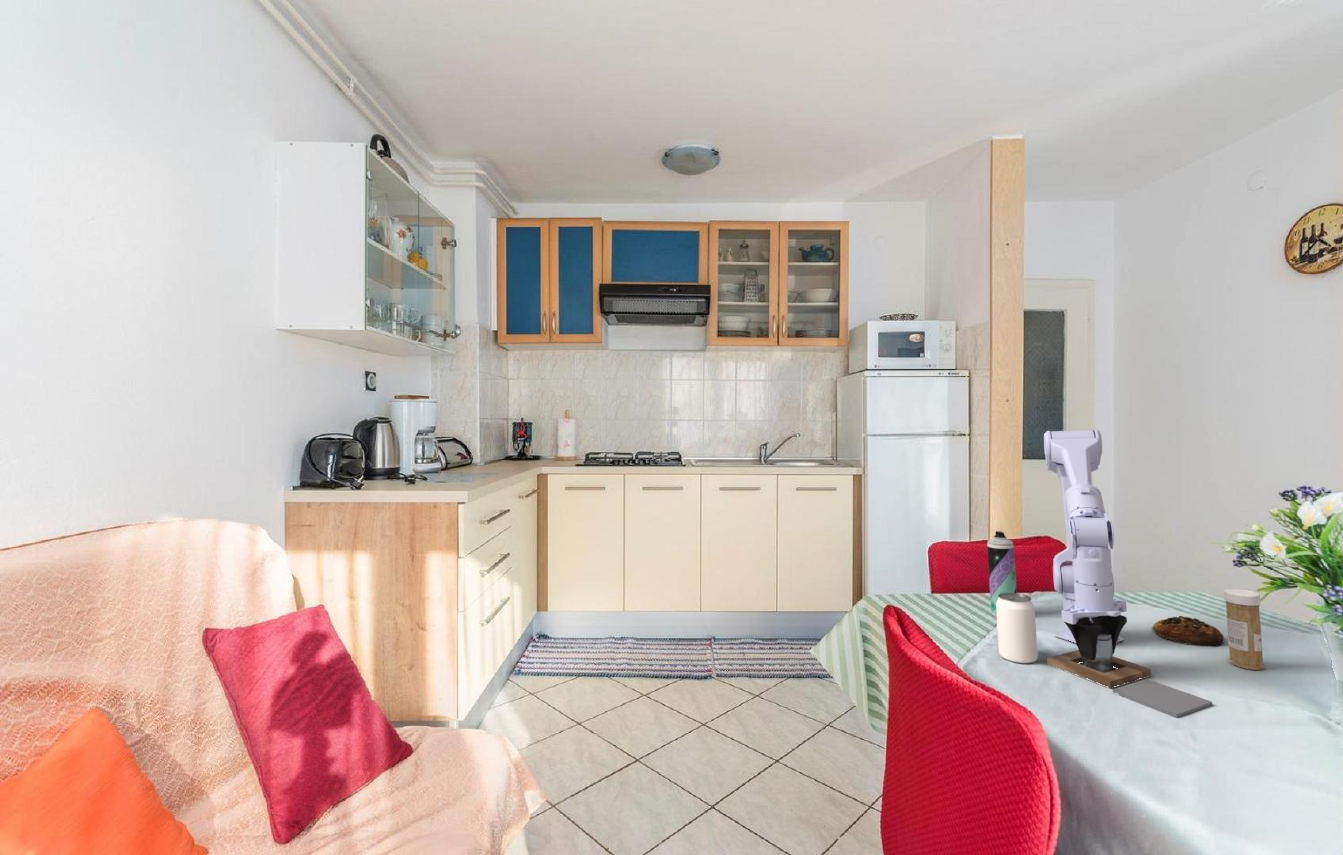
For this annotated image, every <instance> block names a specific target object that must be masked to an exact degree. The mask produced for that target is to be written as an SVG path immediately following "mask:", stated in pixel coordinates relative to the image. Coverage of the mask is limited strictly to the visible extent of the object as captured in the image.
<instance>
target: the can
mask: <svg viewBox="0 0 1343 855" xmlns="http://www.w3.org/2000/svg"><path fill="white" fill-rule="evenodd" d="M998 597H999V598H998V600H997V602H996V612H997V617H996V626H997V627H996V629H997V644H998V654H999V655H1000V658H1002V659H1004V660H1006V661H1008V662H1010V663H1016V664H1022V665H1025V664H1026V665H1027V664H1028V665H1029V664H1033V663H1035V662H1036V661H1037V660H1038V644H1037V643H1038V642H1037V641H1038V640H1037V626H1036V625H1037V624H1036V613H1035V612H1036V610H1035V609H1036V608H1035V605H1034V604H1033V602H1032V597H1031V596H1029V595H1026V594H1023V593H1019V592H1018V593H1000V594H998Z"/></svg>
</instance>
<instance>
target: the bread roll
mask: <svg viewBox="0 0 1343 855" xmlns="http://www.w3.org/2000/svg"><path fill="white" fill-rule="evenodd" d="M1151 630H1152V631H1154V633H1155V634H1156V635H1157V634H1158V636H1160V637H1162V638H1164V639H1165V638H1167V639H1166V640H1171V641H1175V642H1178V643H1181V644H1185V643H1187V644H1186V645H1192V646H1197V647H1199V646H1200V647H1212V648H1213V647H1219V646H1222V644H1223V643H1224V641H1225V638H1224V635H1223V633H1221V631H1220V630H1219V628H1216V627H1215V626H1213V625H1211V624H1209V623H1206V622H1205V621H1201V620H1200V619H1198V618H1196V617H1195V618H1192V617H1188V616H1183V615H1180V616H1178V617H1177V616H1172V617H1167V618H1165V619H1164V618H1163V619H1161V620H1157V622H1154V623H1153V625H1152V627H1151Z"/></svg>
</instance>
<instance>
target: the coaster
mask: <svg viewBox="0 0 1343 855" xmlns="http://www.w3.org/2000/svg"><path fill="white" fill-rule="evenodd" d="M1113 692H1114V693H1113ZM1112 693H1113V694H1115V693H1118V694H1119V695H1118V694H1117V695H1118V696H1120V695H1121V697H1123V698H1125V697H1127V698H1126V699H1128V698H1129V699H1128V700H1131V701H1134V702H1136V701H1137V702H1136V703H1139V704H1141V705H1144V706H1147V707H1149V708H1151V709H1153V710H1156V711H1157V712H1161V713H1164V714H1166V715H1169V716H1171V717H1174V718H1176V719H1177V718H1179V717H1183V716H1186V715H1189V714H1191V713H1194V712H1197V711H1199V710H1201V709H1205V708H1208V707H1210V706H1213V701H1211V700H1208V699H1206V698H1203V697H1200V696H1197V695H1194V694H1191V693H1189V692H1185V691H1183V690H1180V689H1178V688H1174V687H1172V686H1169V685H1165V684H1163V683H1161V682H1157V681H1155V680H1152V679H1148V678H1144V679H1141V680H1138V681H1134V682H1133V683H1132V682H1131V683H1128V684H1125V685H1122V686H1118V687H1115V688H1112Z"/></svg>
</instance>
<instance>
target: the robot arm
mask: <svg viewBox="0 0 1343 855" xmlns="http://www.w3.org/2000/svg"><path fill="white" fill-rule="evenodd" d="M1043 446H1044V447H1043V448H1044V455H1045V465H1046V467H1047V470H1048V471H1050V472H1052V473H1056V474H1057V477H1058V480H1059V482H1060V485H1061V495H1062V505H1063V506H1062V508H1063V516H1064V529H1065V537H1066V538H1065V540H1066V548H1065V549H1064V550H1062V551H1060V552H1058V553H1057V554H1055V555H1054V558H1053V559H1052V562H1053V564H1052V565H1053V566H1052V576H1053V585H1054V586H1053V587H1054V590H1055V592H1057V594H1058V595H1059V594H1060V595H1062V596H1061V597H1062V598H1061V599H1062V610H1061V621H1062V622H1063V624H1064V625H1063V631H1060V632H1057V633H1054V637H1056V638H1059V639H1062V640H1065V641H1068V640H1069V641H1068V642H1070V641H1071V643H1073V642H1074V644H1076V646H1077V650H1079V652H1080V655H1081V657H1083V658H1086V659H1089V660H1091V661H1093V660H1095V657H1096V644H1097V638H1098V634H1099V632H1100V630H1101V629H1102V630H1106V631H1108V632H1110V633H1111V636H1112V653H1113V655H1114V654H1115V651H1116V646H1117V643H1120V642H1119V641H1121V642H1123V641H1124V638H1123V637H1121V636H1120V634H1121V632H1122V630H1123V629H1124V627H1125V625H1126V624H1127V622H1128V617H1127V616H1125V615H1122V613H1125V612H1127V601H1126V600H1123V599H1118V598H1114V594H1115V582H1114V581H1115V580H1114V579H1115V578H1114V575H1113V570H1112V554H1111V550H1113V548H1114V545H1115V530H1114V526H1113V523H1112V520H1111V517H1110V516H1109V513H1108V512H1106V510H1105V505H1104V500H1103V497H1102V492H1101V490H1100V489H1099V488H1098V487H1097V486H1094V485H1093V480H1092V472H1094V471H1097V470H1099V465H1100V463H1101V458H1102V454H1103V438H1102V434H1101V431H1099V430H1098V429H1096V428H1093V429H1083V430H1082V429H1080V430H1079V429H1078V430H1060V431H1058V430H1054V431H1053V430H1052V431H1051V430H1046V432H1045V433H1044V434H1043ZM1122 640H1123V641H1122Z"/></svg>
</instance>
